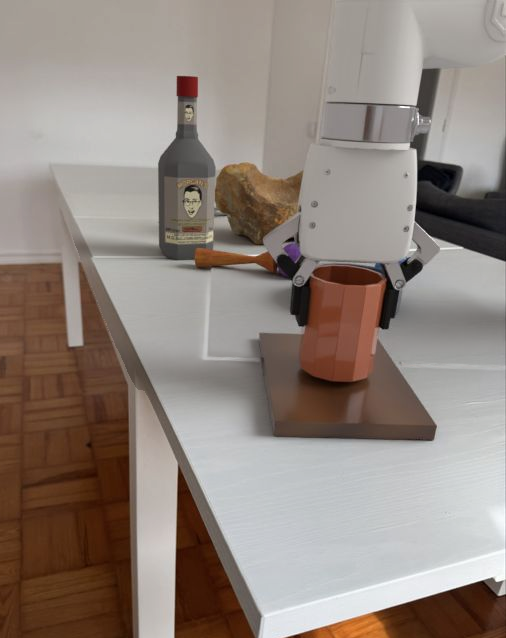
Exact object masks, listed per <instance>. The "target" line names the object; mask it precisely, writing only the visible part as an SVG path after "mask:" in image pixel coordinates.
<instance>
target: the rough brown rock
mask: <svg viewBox="0 0 506 638" xmlns="http://www.w3.org/2000/svg"><path fill="white" fill-rule="evenodd" d="M303 172H304V169H302V170H300V171H299V172H298V173H296V174H294V175H291V176H289V177H287V178H285V179H283V178H281V177H272V176H268V175H266V174H264V173H263V172H261V170H259V168H258V166H257V165H255V164H254V163H251V162H240V163H238V164H236V163H233V164H227V165H224V167H222V168H221V170H220V172H219V174H218V175H217V176H216V178H215V203H216V207H217V209H218V210H219V211H220V212H222V213H224V214H226V215H225V216H226V218H227V221H228V224H229V227H230V230H231V232H232V233H234V234H235V235H237V236H245V237H247V238H249V239H250V240H251V241H252V242H253V243H254V244H255V245H264V243H263V238H264V237H265V236H266V235H267V234H268V233H270V232H271V231H273V230H274V229H275V228H277V227H278V226H280V225H281V224H282V223H284V222H285V221H287V220H288V219H289V218H291V217H292V216H294V215H295V214H296V213H297V207H298V201H299V194H300V188H301V182H302V177H303ZM291 238H294V235H293V236H292V237H291Z"/></svg>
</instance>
